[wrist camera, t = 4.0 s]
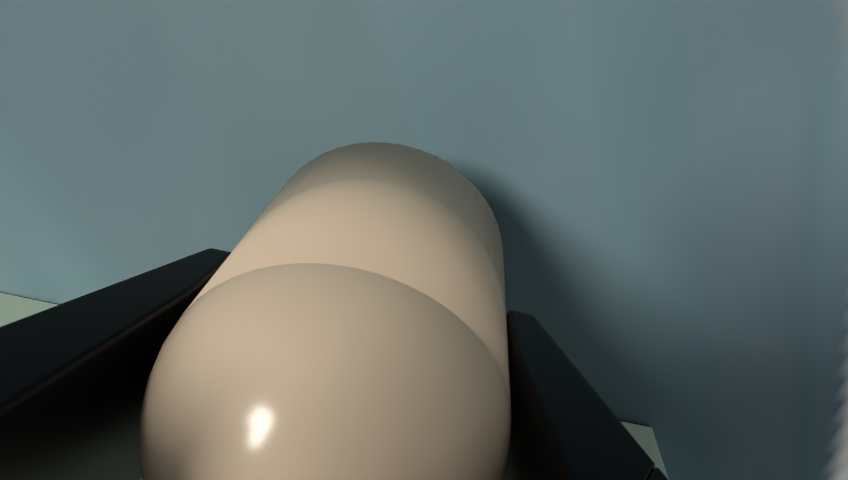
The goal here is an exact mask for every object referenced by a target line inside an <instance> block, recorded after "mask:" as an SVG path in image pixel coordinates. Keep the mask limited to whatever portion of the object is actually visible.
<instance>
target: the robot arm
mask: <svg viewBox="0 0 848 480" xmlns="http://www.w3.org/2000/svg"><path fill="white" fill-rule="evenodd" d="M230 254H231V252H227V251H222V250H218V249H213V248H211V249H207V250H204V251H201V252H199V253H196V254H193V255H191V256H188V257H185V258H183V259H180V260H177V261H175V262H172V263H169V264H167V265H164V266H161V267H159V268H156V269H153V270H151V271H148V272H145V273H143V274H140V275H137V276H135V277H132V278H129V279H127V280H124V281H121V282H119V283H116V284H113V285H111V286H108V287H105V288H103V289H100V290H97V291H95V292H92V293H89V294H87V295H84V296H81V297H79V298H76V299H73V300H70V301H68V302H65V303H62V304H60V305H57V306H54V307H52V308H49V309H46V310H44V311H41V312H38V313H36V314H33V315H30V316H28V317H25V318H22V319H20V320H17V321H14V322H12V323H9V324H6V325H4V326H1V327H0V480H141V479H142V476H141V468H140V461H139V421H140V413H141V408H142V403H143V398H144V394H145V390H146V385H147V381H148V378H149V376H150V373H151V371H152V368H153V366H154V364H155V361H156V359H157V357H158V354H159V352H160V350H161V347H162V345H163V343H164V342H165V340H166V339H167V337H168V336H169V334H170V333H171V331H172V330H173V328H174V327H175V325H176V324H177V322H178V320H179V319H180V317H181V316H182V314H183V313H184V312H185V311H186V309H187V308H188V307H189V305H190V304H191V303H192V302H193V300H194V299H195V298H196V297H197V295H198V294H199V293H200V292H201V290H202V289H203V288H204V287H205V285H206V284H207V283H208V281H209V280H210V279H211V278H212V276H213V275H214V274H215V273H216V271H217V270H218V269H219V268H220V266H221V265H222V264H223V263H224V261H225V260H226V259H227V257H228V256H229V255H230ZM506 320H507V340H508V359H509V379H510V398H511V438H510V450H509V456H508V461H507V465H506V470H505V474H504V478H503V480H668V479H667V477H666V476H665V475H664V474H663V472H662V471H661V470H660V469H659V468H657V467H655V463H654V462H653V461H652V459H651V458H650V457H649V456H648V454H647V453H646V452H645V451H644V450H643V448H642V447H641V446H640V445H639V444H638V442H637V441H636V440H635V439H634V437H633V436H632V435H631V434H630V433H629V431H628V430H627V429H626V428H625V427H624V425H623V424H622V423H621V422H620V420H619V419H618V418H617V417H616V416H615V414H614V413H613V412H612V411H611V409H610V408H609V407H608V406H607V405H606V403H605V402H604V401H603V400H602V399H601V397H600V396H599V395H598V394H597V392H596V391H595V390H594V389H593V388H592V386H591V385H590V384H589V383H588V381H587V380H586V379H585V378H584V377H583V375H582V374H581V373H580V372H579V371H578V369H577V368H576V367H575V366H574V364H573V363H572V362H571V361H570V360H569V358H568V357H567V356H566V355H565V353H564V352H563V351H562V350H561V349H560V347H559V346H558V345H557V344H556V343H555V341H554V340H553V339H552V338H551V336H550V335H549V334H548V333H547V332H546V330H545V329H544V328H543V327H542V326H541V324H540V323H539V322H538V321H537V319H536V318H535V317H534V316H533V315H531V314H526V313H521V312H516V311H508V313H507V314H506ZM654 467H655V468H654Z"/></svg>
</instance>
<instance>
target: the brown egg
mask: <svg viewBox="0 0 848 480" xmlns="http://www.w3.org/2000/svg"><path fill="white" fill-rule="evenodd" d="M510 438H511V398H510V379H509V359H508V340H507V320H506V301H505V282H504V262H503V247H502V238H501V234H500V230H499V226H498V223H497V221H496V218H495V216H494V214H493V211H492V209H491V208H490V206H489V204H488V203H487V201H486V199H485V198H484V196H483V195H482V194H481V193H480V191H479V190H478V189H477V188H476V186H475V185H474V184H473V183H472V182H471V181H470V180H469V179H468V178H467V177H466V176H465V175H464V174H462V173H461V172H460V171H458V170H457V169H456V168H454V167H453V166H452V165H450V164H448V163H447V162H445V161H443V160H441V159H440V158H438V157H436V156H434V155H431V154H429V153H427V152H424V151H422V150H419V149H416V148H412V147H408V146H405V145H399V144H392V143H376V142H368V143H359V144H352V145H348V146H344V147H340V148H336V149H334V150H331V151H329V152H326V153H324V154H322V155H320V156H318V157H316V158H315V159H313V160H311V161H309V162H308V163H307V164H306V165H304V166H303V167H302V168H301V169H299V170H298V171H297V172H296V173H295V174H294V175H293V176H292V177H291V178H290V179H289V181H288V182H287V183H286V184H285V185H284V187H283V188H282V189H281V191H280V192H279V193H278V194H277V196H276V197H275V198H274V199H273V201H272V202H271V203H270V204H269V206H268V207H267V208H266V209H265V211H264V212H263V213H262V215H261V216H260V217H259V218H258V220H257V221H256V222H255V223H254V225H253V226H252V227H251V228H250V230H249V231H248V232H247V233H246V235H245V236H244V237H243V239H242V240H241V241H240V242H239V244H238V245H237V246H236V247H235V249H234V250H233V251H232V252H231V254H230V255H229V256H228V257H227V259H226V260H225V261H224V263H223V264H222V265H221V266H220V268H219V269H218V270H217V271H216V273H215V274H214V275H213V276H212V278H211V279H210V280H209V281H208V283H207V284H206V285H205V287H204V288H203V289H202V290H201V292H200V293H199V294H198V295H197V297H196V298H195V299H194V300H193V302H192V303H191V304H190V305H189V307H188V308H187V309H186V311H185V312H184V313H183V314H182V316H181V317H180V319H179V320H178V322H177V324H176V325H175V327H174V328H173V330H172V331H171V333H170V334H169V336H168V337H167V339H166V340H165V342H164V343H163V345H162V347H161V350H160V352H159V354H158V357H157V359H156V361H155V364H154V366H153V368H152V371H151V373H150V376H149V378H148V381H147V385H146V390H145V394H144V398H143V403H142V408H141V413H140V421H139V461H140V468H141V476H142V480H503V478H504V474H505V470H506V465H507V461H508V456H509V450H510Z"/></svg>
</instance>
